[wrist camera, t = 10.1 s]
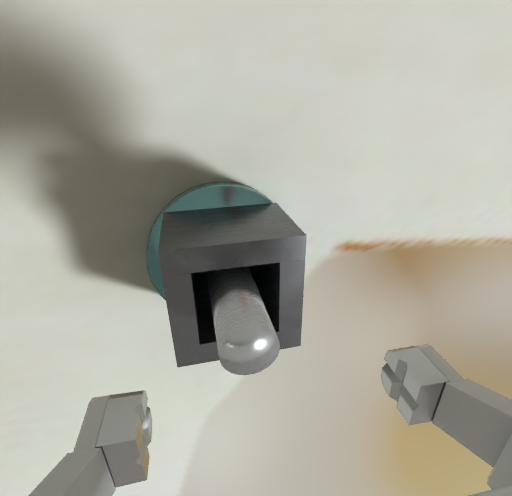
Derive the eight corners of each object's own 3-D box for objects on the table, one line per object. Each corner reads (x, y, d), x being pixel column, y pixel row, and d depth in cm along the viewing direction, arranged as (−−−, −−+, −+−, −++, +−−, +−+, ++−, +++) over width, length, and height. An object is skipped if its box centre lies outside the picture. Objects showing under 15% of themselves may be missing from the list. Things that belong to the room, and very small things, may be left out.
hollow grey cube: (276, 202, 18) (306, 235, 14) (275, 294, 21) (300, 345, 17) (163, 212, 17) (157, 251, 13) (177, 308, 20) (177, 367, 16)
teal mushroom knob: (292, 177, 19) (372, 233, 11) (287, 301, 23) (344, 408, 15) (136, 187, 17) (99, 262, 9) (159, 319, 21) (147, 450, 13)
